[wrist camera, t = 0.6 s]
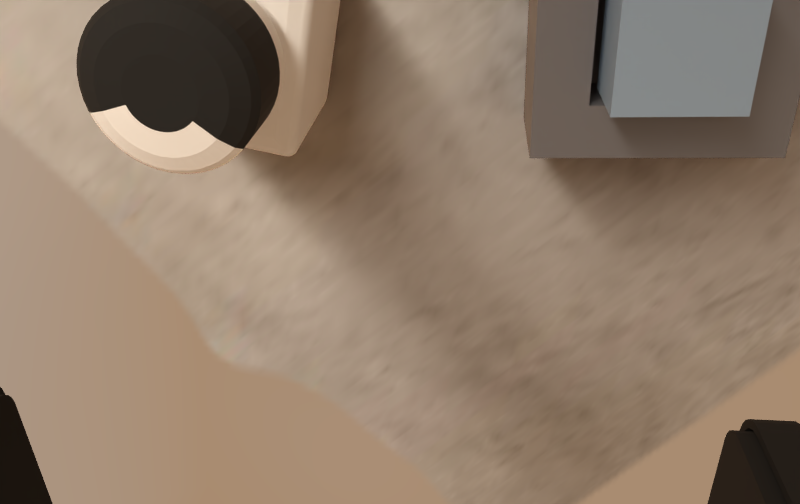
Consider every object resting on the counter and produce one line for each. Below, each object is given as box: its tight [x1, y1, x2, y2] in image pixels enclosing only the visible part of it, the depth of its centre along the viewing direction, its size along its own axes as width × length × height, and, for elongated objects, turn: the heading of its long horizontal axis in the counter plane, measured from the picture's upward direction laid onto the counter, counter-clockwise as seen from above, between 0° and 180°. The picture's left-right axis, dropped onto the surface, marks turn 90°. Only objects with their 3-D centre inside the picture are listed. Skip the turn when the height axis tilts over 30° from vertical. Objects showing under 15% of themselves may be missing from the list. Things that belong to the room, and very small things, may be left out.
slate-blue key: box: [597, 0, 773, 117], centre depth 26 cm, size 5×5×4 cm
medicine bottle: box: [77, 0, 341, 174], centre depth 28 cm, size 7×7×12 cm
